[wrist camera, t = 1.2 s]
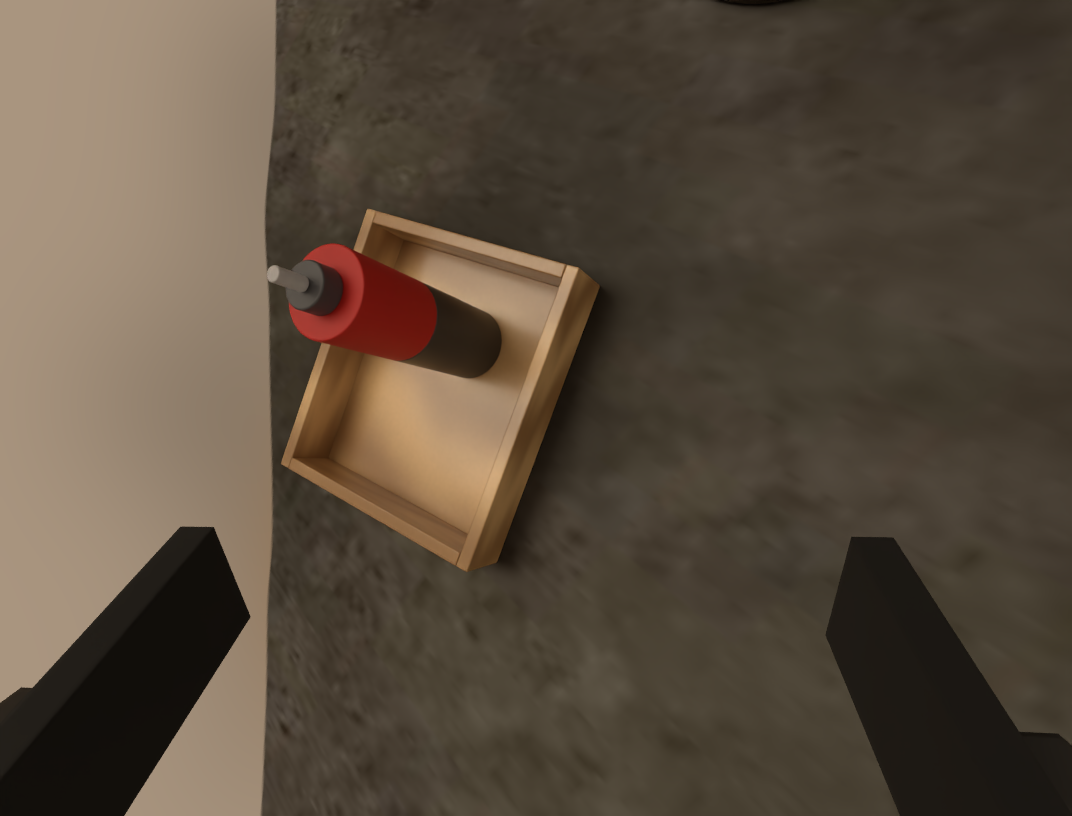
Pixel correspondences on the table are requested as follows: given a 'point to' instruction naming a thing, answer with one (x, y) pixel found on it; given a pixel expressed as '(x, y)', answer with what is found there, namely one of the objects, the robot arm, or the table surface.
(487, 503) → the storage box
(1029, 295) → the table surface
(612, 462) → the table surface
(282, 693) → the table surface
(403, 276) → the red squeeze bottle
